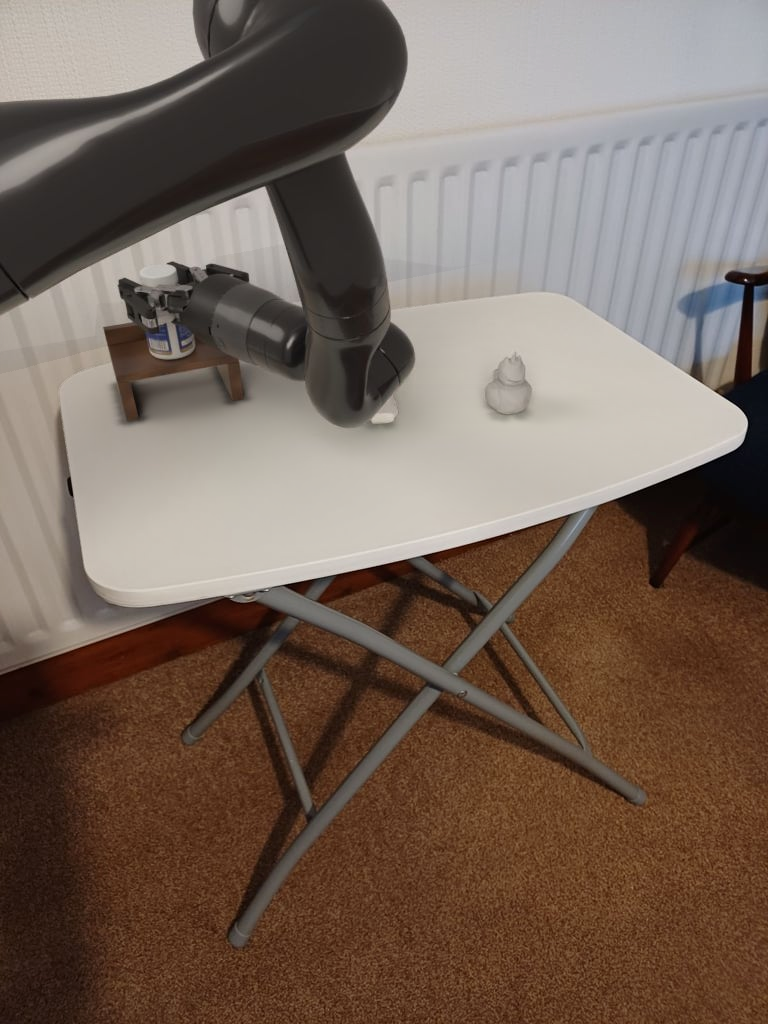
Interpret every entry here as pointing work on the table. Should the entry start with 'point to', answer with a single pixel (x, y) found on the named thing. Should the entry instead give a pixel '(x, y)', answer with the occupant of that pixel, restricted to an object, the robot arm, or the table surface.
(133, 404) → the shelf
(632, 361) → the table surface
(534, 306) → the table surface
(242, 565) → the table surface
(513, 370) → the rubber duck
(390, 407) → the white flared handle
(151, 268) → the pill bottle
